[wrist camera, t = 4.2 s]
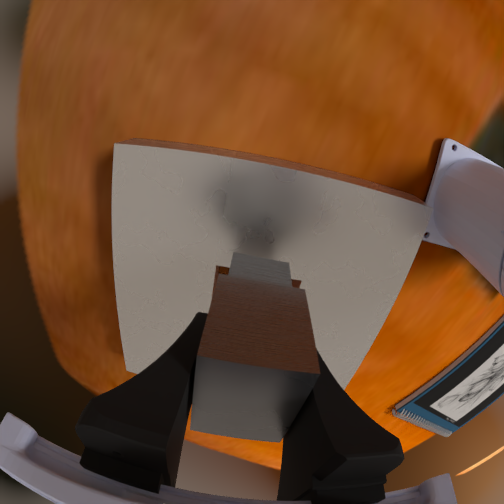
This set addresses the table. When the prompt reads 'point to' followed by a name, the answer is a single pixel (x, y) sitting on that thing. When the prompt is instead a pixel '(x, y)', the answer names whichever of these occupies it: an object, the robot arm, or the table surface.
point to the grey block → (254, 353)
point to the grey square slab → (254, 243)
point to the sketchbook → (459, 387)
